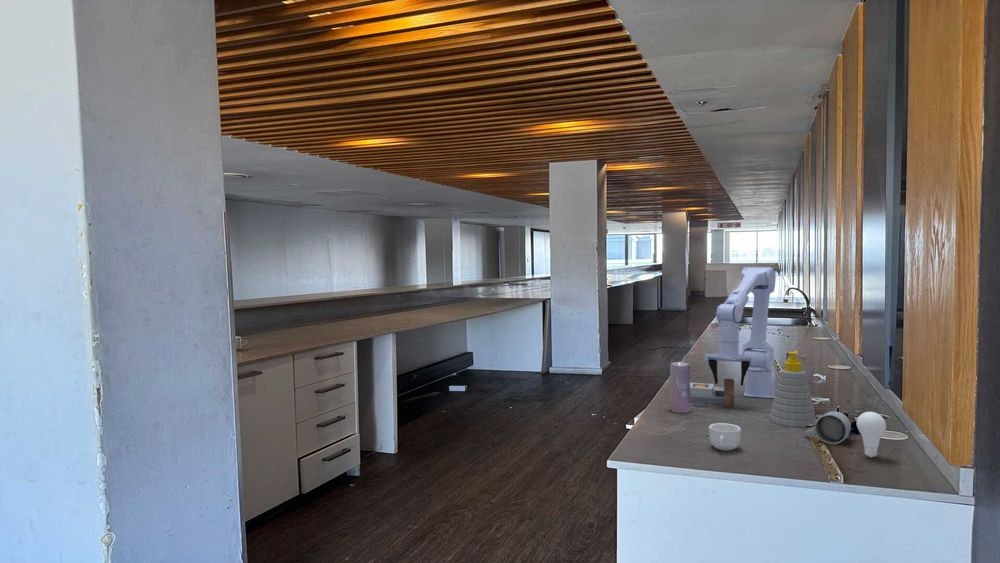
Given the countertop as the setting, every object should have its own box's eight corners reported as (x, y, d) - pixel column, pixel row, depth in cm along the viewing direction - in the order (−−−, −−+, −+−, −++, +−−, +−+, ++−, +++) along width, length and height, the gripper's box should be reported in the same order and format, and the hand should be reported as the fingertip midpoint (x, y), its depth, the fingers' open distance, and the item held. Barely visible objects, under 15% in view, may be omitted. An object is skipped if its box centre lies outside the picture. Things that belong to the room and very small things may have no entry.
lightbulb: (850, 453, 154) (851, 409, 153) (874, 452, 154) (874, 408, 154) (867, 462, 148) (867, 415, 147) (891, 460, 148) (892, 414, 148)
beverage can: (688, 408, 200) (687, 361, 199) (691, 413, 194) (691, 365, 193) (668, 408, 201) (668, 362, 200) (672, 413, 195) (671, 365, 194)
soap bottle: (822, 420, 183) (822, 351, 182) (808, 430, 174) (808, 357, 173) (778, 413, 192) (778, 347, 191) (763, 422, 183) (763, 353, 182)
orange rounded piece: (706, 389, 213) (706, 385, 213) (705, 391, 210) (705, 387, 210) (695, 388, 214) (695, 384, 214) (694, 390, 211) (694, 386, 211)
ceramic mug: (852, 438, 166) (852, 409, 165) (847, 446, 159) (846, 416, 159) (808, 433, 172) (808, 405, 172) (801, 440, 166) (801, 411, 165)
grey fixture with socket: (729, 397, 214) (729, 384, 213) (728, 405, 204) (728, 391, 203) (690, 394, 219) (690, 381, 219) (686, 402, 209) (686, 388, 208)
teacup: (711, 442, 165) (711, 421, 165) (742, 445, 162) (742, 425, 162) (705, 453, 157) (705, 431, 156) (737, 457, 153) (737, 435, 153)
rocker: (726, 391, 212) (726, 387, 212) (725, 391, 206) (725, 387, 206) (715, 391, 213) (715, 387, 214) (713, 390, 207) (713, 386, 207)
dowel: (734, 406, 201) (734, 378, 201) (733, 408, 199) (733, 380, 198) (724, 405, 203) (724, 378, 202) (723, 408, 200) (723, 380, 199)
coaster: (707, 404, 205) (707, 403, 205) (706, 407, 201) (706, 406, 201) (693, 403, 207) (692, 402, 207) (691, 406, 202) (691, 405, 202)
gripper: (704, 342, 199) (704, 385, 199) (753, 344, 193) (753, 388, 194) (705, 339, 205) (706, 380, 206) (753, 341, 200) (753, 383, 200)
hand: (729, 384), depth 200 cm, fingers open, 7 cm apart
